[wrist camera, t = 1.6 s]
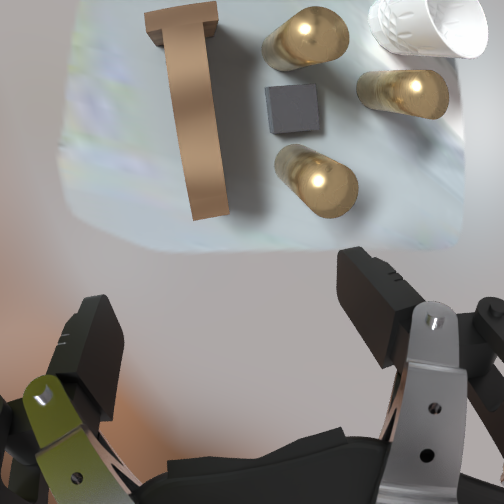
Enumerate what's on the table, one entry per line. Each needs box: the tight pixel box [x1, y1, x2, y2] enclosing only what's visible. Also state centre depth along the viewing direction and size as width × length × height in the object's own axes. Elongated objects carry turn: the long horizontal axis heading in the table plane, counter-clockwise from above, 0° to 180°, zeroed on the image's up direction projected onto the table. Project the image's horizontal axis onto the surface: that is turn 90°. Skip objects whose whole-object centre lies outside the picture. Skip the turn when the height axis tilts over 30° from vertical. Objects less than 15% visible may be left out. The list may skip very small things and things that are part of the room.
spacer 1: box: [261, 6, 349, 71], centre depth 20 cm, size 4×4×9 cm
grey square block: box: [265, 84, 320, 134], centre depth 26 cm, size 4×4×2 cm
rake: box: [144, 1, 230, 221], centre depth 22 cm, size 16×5×6 cm, turn 7°
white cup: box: [368, 0, 488, 59], centre depth 19 cm, size 8×8×10 cm
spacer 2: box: [274, 144, 358, 218], centre depth 25 cm, size 4×4×9 cm
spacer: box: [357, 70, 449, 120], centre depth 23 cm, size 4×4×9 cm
